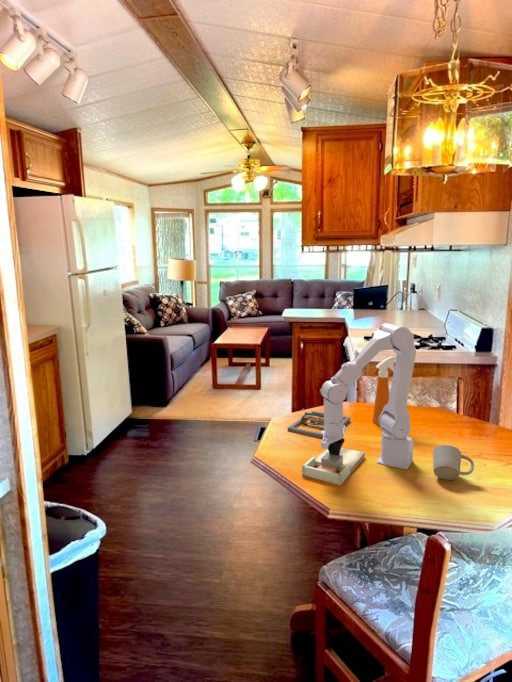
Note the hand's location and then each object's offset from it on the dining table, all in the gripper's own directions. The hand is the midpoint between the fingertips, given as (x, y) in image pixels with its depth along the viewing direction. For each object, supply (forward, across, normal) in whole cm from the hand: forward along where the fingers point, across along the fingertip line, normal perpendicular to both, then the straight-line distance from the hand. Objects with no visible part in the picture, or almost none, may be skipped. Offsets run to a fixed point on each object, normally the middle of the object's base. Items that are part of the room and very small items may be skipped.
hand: (334, 461), depth 148 cm
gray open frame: (+4, -29, -18) cm, 34 cm away
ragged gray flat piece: (+4, -29, -19) cm, 35 cm away
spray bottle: (+5, -47, +2) cm, 48 cm away
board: (+3, -5, 0) cm, 5 cm away
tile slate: (0, +2, 0) cm, 2 cm away
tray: (+3, +6, 0) cm, 7 cm away
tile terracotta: (+2, +7, 0) cm, 7 cm away
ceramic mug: (+4, -12, +32) cm, 35 cm away
